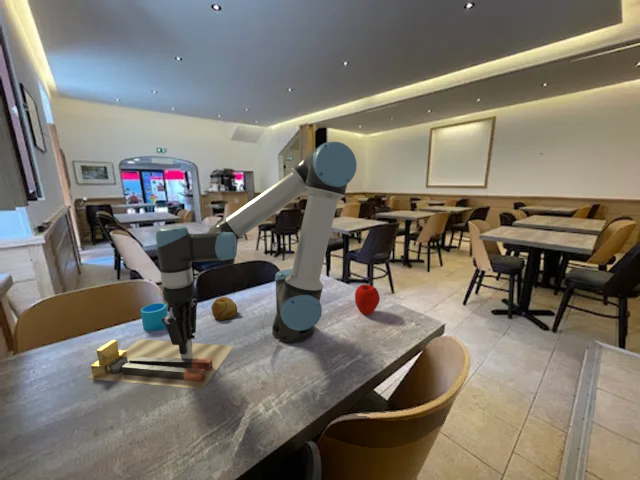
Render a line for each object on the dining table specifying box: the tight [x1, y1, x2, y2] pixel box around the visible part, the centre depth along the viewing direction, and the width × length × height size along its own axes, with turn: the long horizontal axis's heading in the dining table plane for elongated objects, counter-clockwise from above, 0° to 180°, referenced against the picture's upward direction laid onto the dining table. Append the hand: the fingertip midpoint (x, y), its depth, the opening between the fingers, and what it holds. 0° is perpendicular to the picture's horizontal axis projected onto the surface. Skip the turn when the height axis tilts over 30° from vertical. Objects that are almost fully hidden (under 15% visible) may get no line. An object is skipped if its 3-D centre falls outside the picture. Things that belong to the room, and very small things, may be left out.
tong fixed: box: [108, 357, 205, 382], centre depth 75 cm, size 28×4×2 cm, turn 83°
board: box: [86, 338, 235, 390], centre depth 81 cm, size 33×19×2 cm, turn 83°
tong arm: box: [129, 357, 213, 371], centre depth 77 cm, size 23×2×2 cm, turn 87°
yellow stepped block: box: [90, 339, 127, 377], centre depth 77 cm, size 4×7×7 cm, turn 173°
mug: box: [140, 302, 169, 332], centre depth 103 cm, size 12×8×8 cm
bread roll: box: [210, 296, 238, 321], centre depth 111 cm, size 13×10×8 cm
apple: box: [354, 284, 381, 316], centre depth 112 cm, size 10×10×12 cm
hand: (187, 361), depth 79 cm, fingers closed
